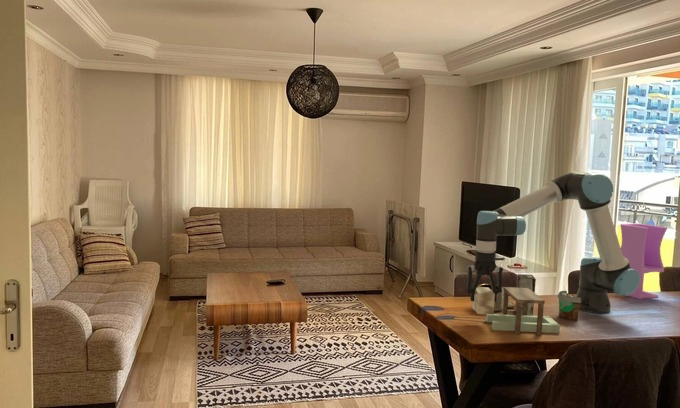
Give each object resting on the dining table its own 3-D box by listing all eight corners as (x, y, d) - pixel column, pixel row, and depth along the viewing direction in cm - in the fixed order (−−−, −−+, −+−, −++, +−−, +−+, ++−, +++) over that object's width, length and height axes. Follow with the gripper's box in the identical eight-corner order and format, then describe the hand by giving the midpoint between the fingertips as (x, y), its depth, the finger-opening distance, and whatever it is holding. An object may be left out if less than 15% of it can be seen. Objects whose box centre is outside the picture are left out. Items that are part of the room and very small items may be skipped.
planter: (475, 309, 233) (476, 287, 232) (478, 303, 243) (480, 282, 242) (501, 313, 228) (502, 291, 228) (503, 306, 238) (505, 285, 238)
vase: (639, 299, 260) (645, 228, 257) (611, 292, 274) (617, 223, 271) (661, 297, 266) (667, 227, 263) (633, 290, 280) (638, 223, 277)
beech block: (487, 307, 215) (488, 287, 215) (493, 314, 206) (494, 294, 205) (472, 306, 216) (473, 287, 215) (477, 314, 206) (478, 293, 205)
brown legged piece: (526, 319, 220) (528, 288, 219) (542, 335, 201) (544, 300, 200) (501, 318, 220) (503, 287, 219) (515, 334, 201) (517, 299, 200)
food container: (550, 312, 232) (552, 290, 231) (564, 313, 232) (566, 290, 231) (564, 321, 219) (566, 297, 219) (579, 321, 220) (581, 297, 219)
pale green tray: (548, 323, 216) (549, 316, 216) (559, 333, 204) (560, 325, 204) (485, 320, 217) (486, 313, 216) (493, 330, 205) (493, 322, 205)
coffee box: (533, 317, 224) (536, 279, 223) (517, 315, 225) (519, 277, 224) (530, 311, 233) (532, 274, 232) (514, 309, 234) (517, 273, 233)
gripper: (507, 250, 212) (504, 307, 214) (459, 248, 212) (456, 306, 214) (513, 253, 204) (510, 313, 206) (462, 252, 205) (460, 311, 207)
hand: (482, 309), depth 210 cm, fingers closed on beech block, 6 cm apart
